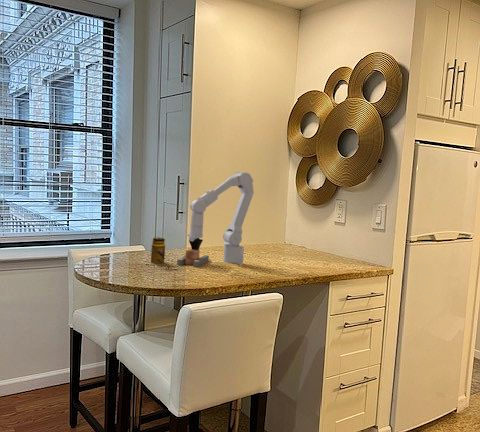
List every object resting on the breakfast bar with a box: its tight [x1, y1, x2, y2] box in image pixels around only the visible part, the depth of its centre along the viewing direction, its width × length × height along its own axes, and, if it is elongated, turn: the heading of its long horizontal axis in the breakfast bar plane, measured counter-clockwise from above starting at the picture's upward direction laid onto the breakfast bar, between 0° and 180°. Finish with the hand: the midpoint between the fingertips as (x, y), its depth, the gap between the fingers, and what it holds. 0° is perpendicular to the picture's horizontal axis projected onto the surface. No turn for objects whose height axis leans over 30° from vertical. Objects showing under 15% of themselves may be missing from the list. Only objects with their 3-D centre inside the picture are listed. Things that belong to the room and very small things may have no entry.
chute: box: [176, 254, 210, 268], centre depth 224 cm, size 10×18×3 cm, turn 168°
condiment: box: [145, 237, 166, 267], centre depth 218 cm, size 7×8×12 cm
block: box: [185, 248, 201, 265], centre depth 222 cm, size 5×5×6 cm
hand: (194, 254), depth 226 cm, fingers closed
